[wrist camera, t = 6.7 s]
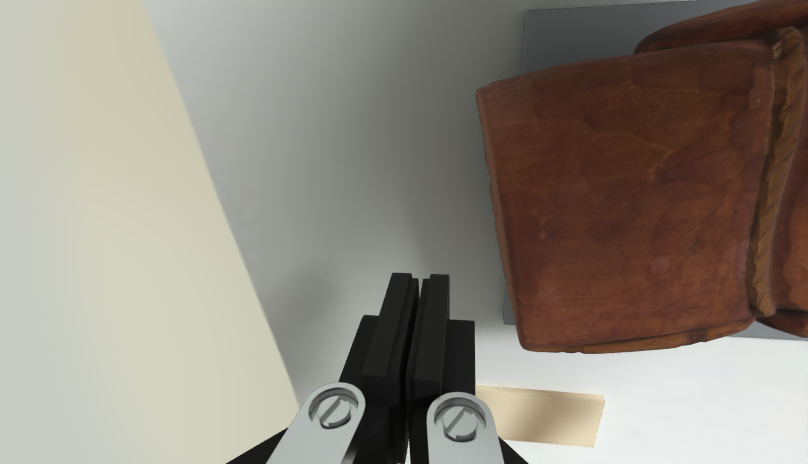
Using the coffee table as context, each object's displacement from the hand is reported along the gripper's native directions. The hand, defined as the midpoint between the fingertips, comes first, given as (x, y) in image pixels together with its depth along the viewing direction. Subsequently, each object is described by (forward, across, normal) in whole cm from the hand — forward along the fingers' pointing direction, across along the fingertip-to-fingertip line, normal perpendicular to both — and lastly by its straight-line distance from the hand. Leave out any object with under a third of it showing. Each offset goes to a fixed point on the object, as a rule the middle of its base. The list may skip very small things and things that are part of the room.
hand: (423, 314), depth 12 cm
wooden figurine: (+6, -2, 0) cm, 6 cm away
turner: (+10, -1, +16) cm, 19 cm away
